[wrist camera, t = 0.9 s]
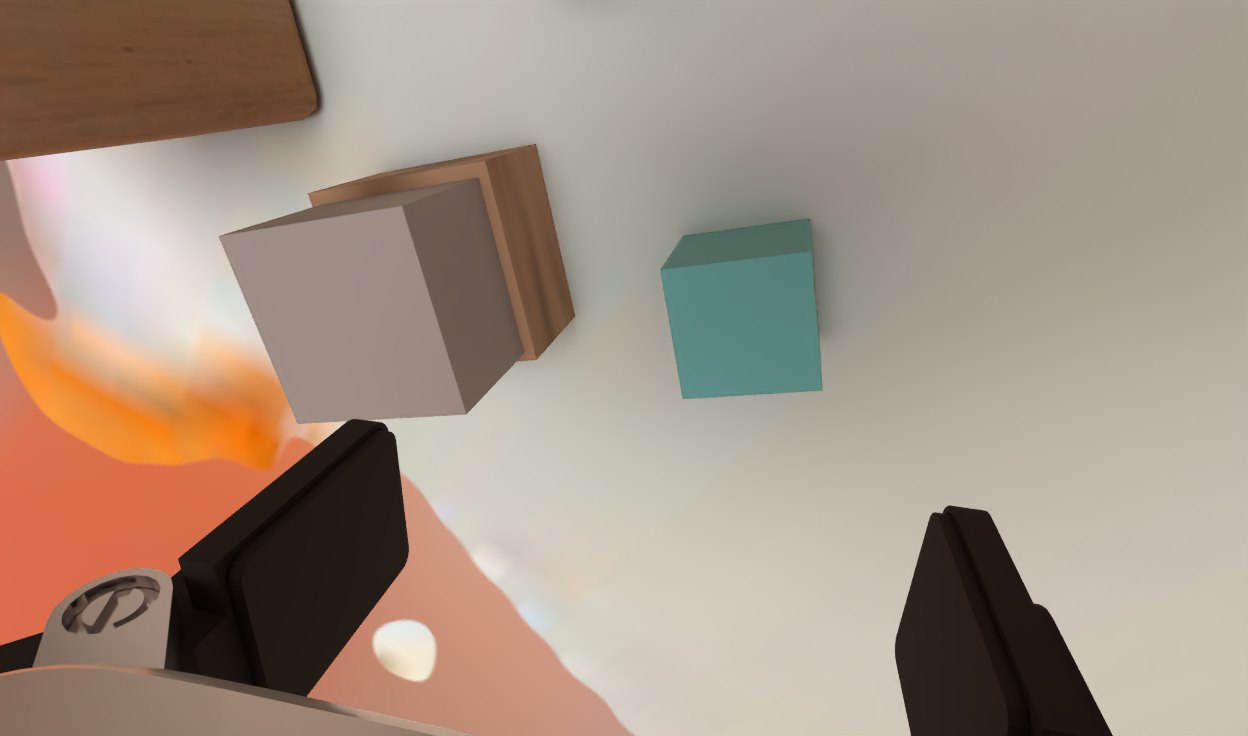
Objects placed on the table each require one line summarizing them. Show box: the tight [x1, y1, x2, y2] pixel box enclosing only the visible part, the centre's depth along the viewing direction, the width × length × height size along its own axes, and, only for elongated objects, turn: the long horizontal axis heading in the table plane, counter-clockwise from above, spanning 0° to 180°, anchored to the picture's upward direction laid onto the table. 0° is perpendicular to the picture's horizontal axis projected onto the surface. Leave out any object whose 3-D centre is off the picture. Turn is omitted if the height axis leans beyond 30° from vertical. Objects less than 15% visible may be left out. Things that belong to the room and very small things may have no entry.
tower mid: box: [219, 177, 524, 424], centre depth 28 cm, size 8×8×6 cm
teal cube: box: [661, 219, 822, 399], centre depth 30 cm, size 6×6×6 cm
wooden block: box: [0, 0, 317, 161], centre depth 25 cm, size 10×10×20 cm
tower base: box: [308, 144, 575, 361], centre depth 33 cm, size 9×9×6 cm
